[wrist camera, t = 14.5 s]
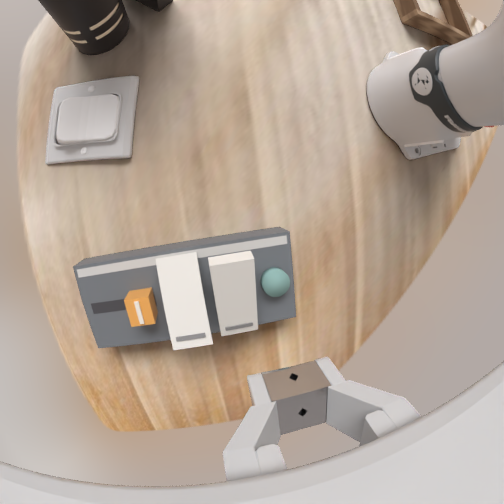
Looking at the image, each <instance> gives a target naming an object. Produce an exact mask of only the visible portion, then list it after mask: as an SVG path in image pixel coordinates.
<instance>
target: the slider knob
mask: <svg viewBox="0 0 504 504" xmlns="http://www.w3.org/2000/svg"><path fill="white" fill-rule="evenodd" d="M124 303H125V306H126V310H127V313H128V317H129V320H130V324H131V327H135V326H143V325H150V324H155V323H156V319H157V315H158V311H157V307H156V303H155V299H154V294H153V290H152V287H151V288H145V289H138V290H132V291H129V292H128V294H127V296H126V298H125V299H124Z"/></svg>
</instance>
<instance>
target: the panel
mask: <svg viewBox="0 0 504 504" xmlns="http://www.w3.org/2000/svg"><path fill="white" fill-rule="evenodd" d="M245 251H251V252H252V255H253V257H254V262H255V281H256V299H257V318H258V325H260V324H265V323H269V322H274V321H279V320H283V319H288V318H292V317H296V308H295V294H294V280H293V267H292V255H291V244H290V233H289V231H287V230H285V229H283V228H281V227H275V228H268V229H261V230H255V231H248V232H241V233H235V234H228V235H222V236H216V237H209V238H203V239H197V240H190V241H184V242H178V243H172V244H166V245H160V246H154V247H148V248H142V249H137V250H131V251H125V252H119V253H114V254H108V255H103V256H97V257H92V258H86V259H83V260H82V261H81V262H79V263H78V264H76V265H75V266H74V267H73V268H74V272H75V276H76V280H77V284H78V287H79V291H80V295H81V298H82V301H83V305H84V308H85V311H86V314H87V317H88V320H89V323H90V326H91V329H92V332H93V335H94V337H95V340H96V343H97V345H98V348H106V347H116V346H126V345H134V344H143V343H151V342H159V341H166V340H171V338H170V334H169V329H168V324H167V320H166V315H165V310H164V305H163V300H162V294H161V289H160V283H159V278H158V272H157V266H156V259H157V258H163V257H169V256H175V255H181V254H187V253H193V252H197V258H198V264H199V270H200V276H201V281H202V287H203V293H204V298H205V304H206V309H207V314H208V320H209V325H210V330H211V333H217V332H221V331H220V326H219V321H218V315H217V309H216V304H215V298H214V292H213V286H212V280H211V274H210V268H209V261H208V257H214V256H220V255H226V254H232V253H239V252H245ZM272 267H277V268H280V269H282V270H283V271H284V272H285V273H286V274H287V275H288V276H289V279H290V286H289V289H288V290H287V292H286V293H285V294H283V295H282V296H279V297H272V296H269V295H268V294H267V293H266V292H265V291H264V290H263V288H262V286H261V283H260V279H261V276H262V274H263V272H264V271H265V270H267V269H269V268H272ZM151 287H152V290H153V294H154V299H155V303H156V307H157V311H158V315H157V319H156V323H155V324H150V325H143V326H135V327H131V324H130V320H129V317H128V313H127V310H126V306H125V303H124V299H125V298H126V296H127V294H128V292H129V291H132V290H138V289H145V288H151Z"/></svg>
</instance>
